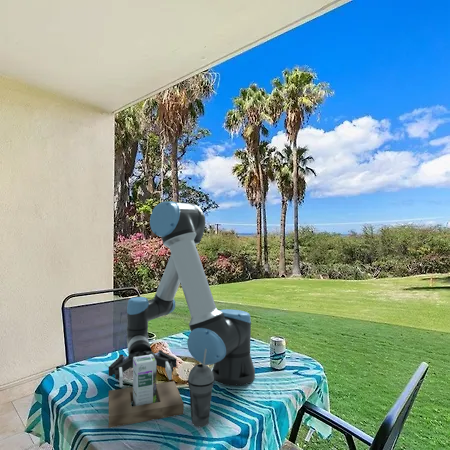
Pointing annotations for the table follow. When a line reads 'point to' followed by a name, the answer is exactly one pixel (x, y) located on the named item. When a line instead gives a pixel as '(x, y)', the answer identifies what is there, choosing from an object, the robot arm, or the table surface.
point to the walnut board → (127, 414)
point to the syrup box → (144, 380)
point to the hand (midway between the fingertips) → (146, 378)
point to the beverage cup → (200, 393)
